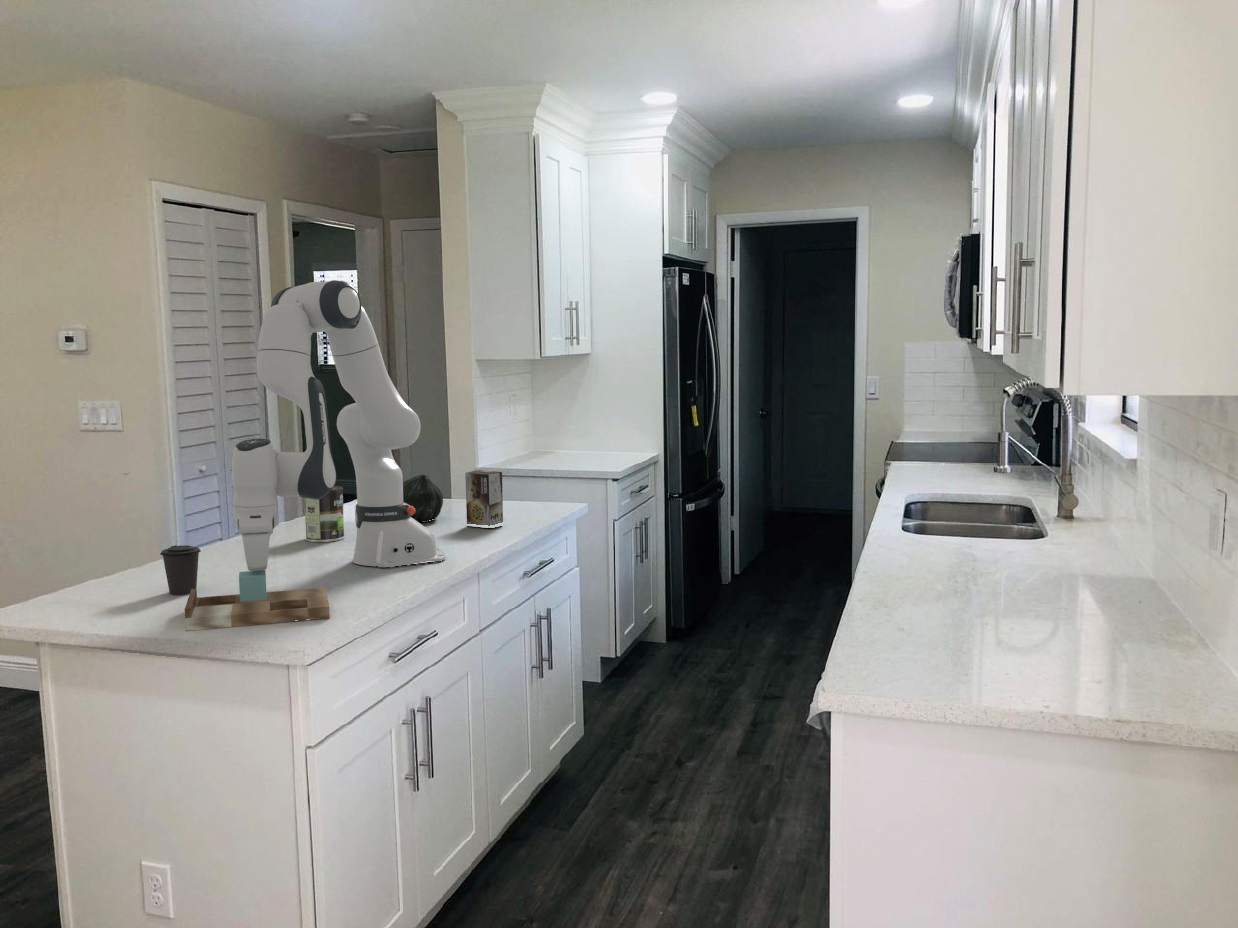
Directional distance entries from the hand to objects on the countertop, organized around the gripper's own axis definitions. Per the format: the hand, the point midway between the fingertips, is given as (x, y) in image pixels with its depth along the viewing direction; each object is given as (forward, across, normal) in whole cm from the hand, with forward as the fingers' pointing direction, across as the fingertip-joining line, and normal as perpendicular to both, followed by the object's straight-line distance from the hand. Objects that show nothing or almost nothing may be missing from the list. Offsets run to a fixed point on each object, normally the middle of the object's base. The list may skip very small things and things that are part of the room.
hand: (259, 582), depth 212 cm
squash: (+4, -84, +44) cm, 95 cm away
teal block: (+1, +8, -1) cm, 8 cm away
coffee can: (+4, -64, +16) cm, 66 cm away
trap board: (+4, +11, 0) cm, 12 cm away
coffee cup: (+4, -13, -16) cm, 21 cm away
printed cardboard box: (+4, -68, +61) cm, 91 cm away
